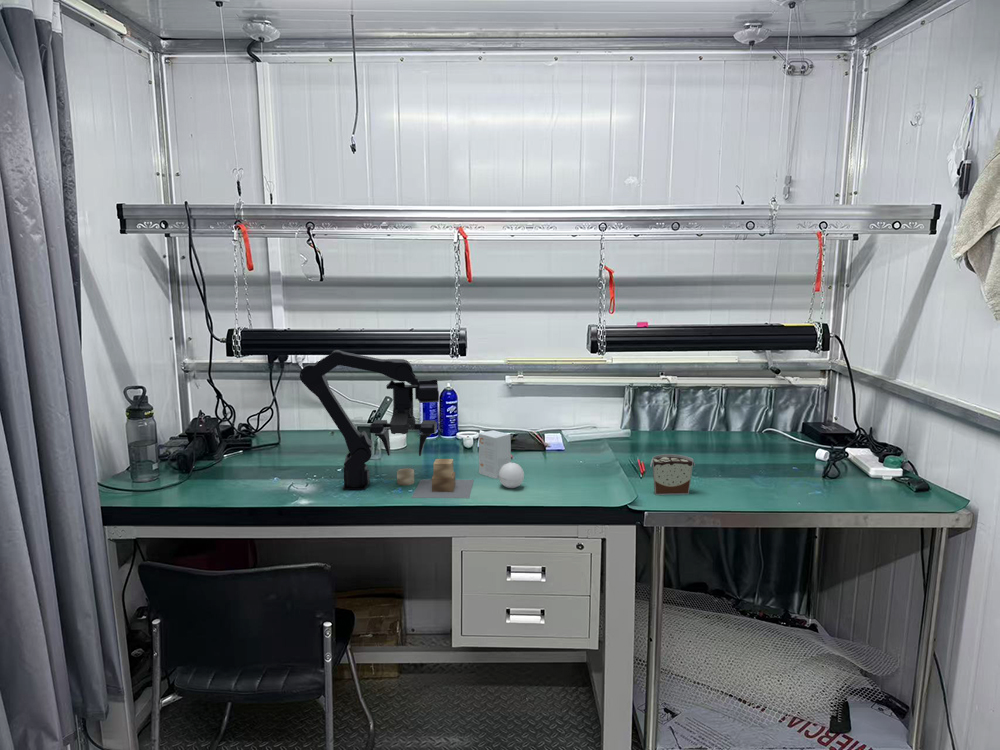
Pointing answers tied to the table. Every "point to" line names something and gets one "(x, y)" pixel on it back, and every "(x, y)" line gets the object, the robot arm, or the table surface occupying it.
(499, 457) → the small box
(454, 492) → the coaster
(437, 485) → the tower base
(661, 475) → the food container
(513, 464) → the white sphere
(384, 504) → the table surface
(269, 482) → the table surface
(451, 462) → the tower top
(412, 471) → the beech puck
